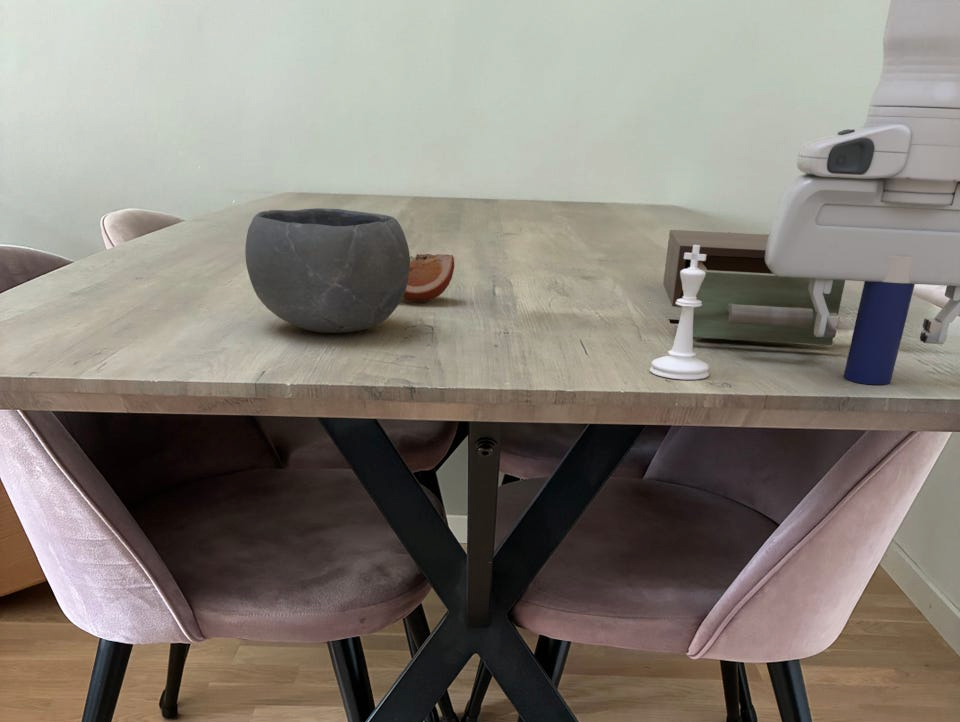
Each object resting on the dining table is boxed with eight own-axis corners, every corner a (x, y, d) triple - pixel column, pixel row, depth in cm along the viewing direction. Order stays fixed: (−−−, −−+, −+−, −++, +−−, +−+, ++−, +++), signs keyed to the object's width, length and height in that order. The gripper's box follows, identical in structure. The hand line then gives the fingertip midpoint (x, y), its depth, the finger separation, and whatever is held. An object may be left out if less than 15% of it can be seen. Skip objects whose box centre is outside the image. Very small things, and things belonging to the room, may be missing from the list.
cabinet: (812, 332, 98) (828, 253, 95) (670, 323, 99) (680, 245, 96) (786, 305, 112) (799, 236, 108) (661, 298, 113) (669, 229, 109)
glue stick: (884, 375, 82) (914, 251, 77) (896, 386, 79) (928, 257, 74) (838, 372, 83) (865, 248, 78) (848, 383, 79) (877, 255, 74)
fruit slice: (372, 303, 103) (371, 254, 101) (384, 293, 109) (384, 246, 107) (448, 308, 102) (449, 258, 100) (457, 297, 108) (458, 250, 106)
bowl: (440, 327, 93) (442, 216, 88) (346, 354, 82) (342, 227, 77) (320, 309, 99) (316, 204, 94) (218, 331, 88) (207, 212, 83)
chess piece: (662, 363, 83) (678, 239, 78) (716, 371, 81) (736, 245, 76) (640, 373, 79) (655, 244, 75) (697, 383, 77) (716, 251, 72)
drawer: (842, 356, 84) (857, 287, 82) (689, 346, 85) (699, 278, 83) (802, 317, 101) (813, 258, 98) (674, 309, 102) (682, 251, 99)
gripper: (1045, 157, 74) (992, 339, 81) (779, 146, 76) (749, 325, 83) (1081, 160, 69) (1021, 355, 76) (793, 148, 70) (760, 339, 77)
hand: (877, 339), depth 79 cm, fingers open, 7 cm apart
